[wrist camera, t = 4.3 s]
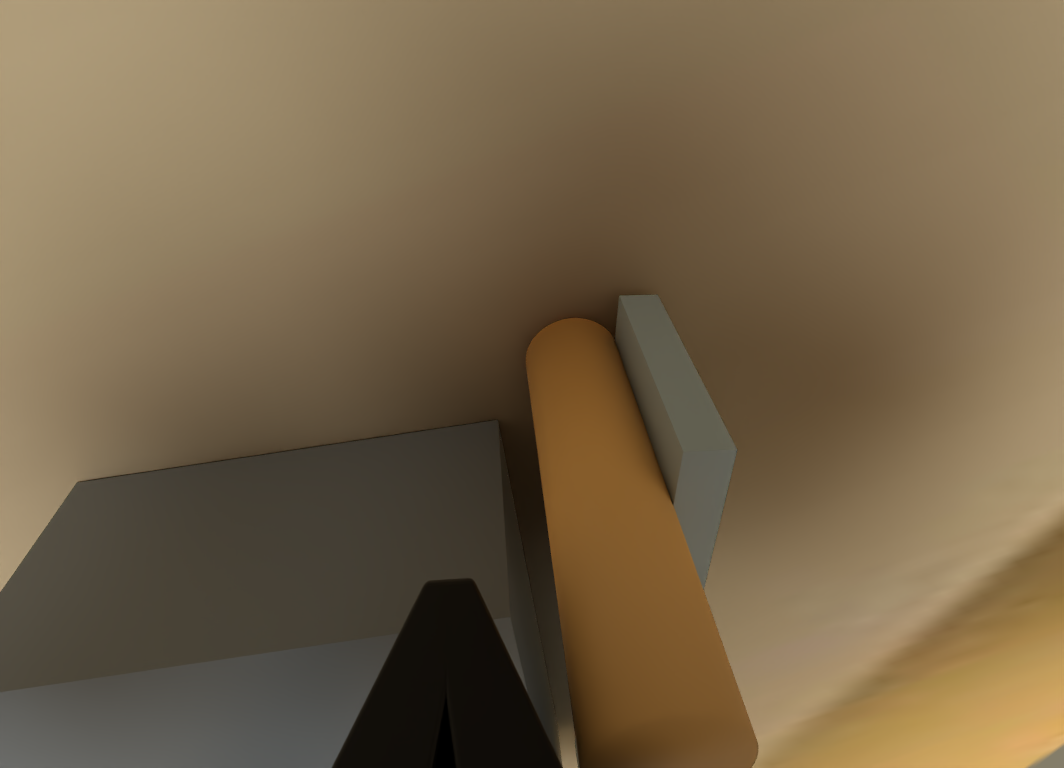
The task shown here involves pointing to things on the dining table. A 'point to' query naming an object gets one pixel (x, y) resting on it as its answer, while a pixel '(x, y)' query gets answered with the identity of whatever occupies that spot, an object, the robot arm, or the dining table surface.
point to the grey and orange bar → (636, 540)
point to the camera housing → (251, 601)
